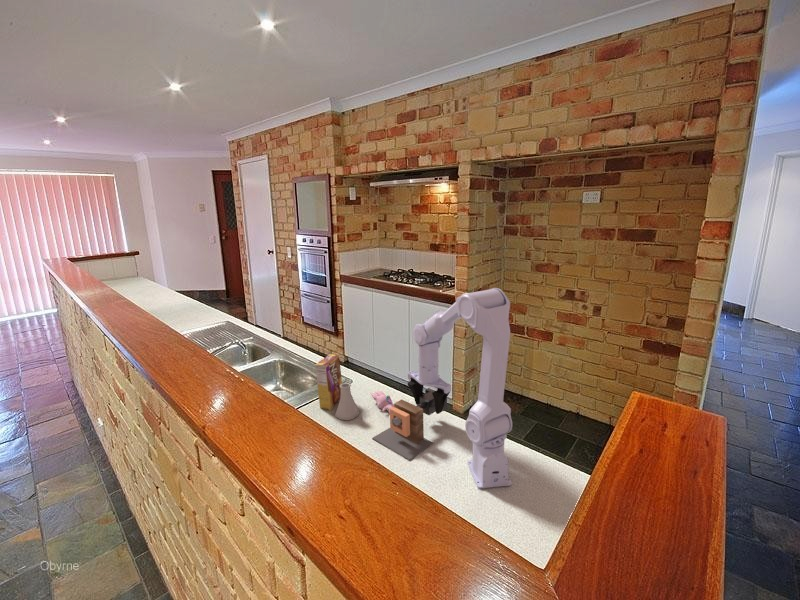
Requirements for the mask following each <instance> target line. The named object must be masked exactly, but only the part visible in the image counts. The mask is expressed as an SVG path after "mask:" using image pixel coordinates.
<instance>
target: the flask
mask: <svg viewBox="0 0 800 600" xmlns="http://www.w3.org/2000/svg"><path fill="white" fill-rule="evenodd" d="M351 386H352V384H351V383H349V382H344V383H343V382H342V384H341V385H340V388H341V398H340V401H339V403H338V406H337V409H336V412H335V415H334V416H335V418H337V419H339V420H342V421H351V420H353V419H355V418H357V417H358V416H359V414H360V410H359V408H358V406H357V403H356V402H355V399H354V398H353V395H352V391H351Z"/></svg>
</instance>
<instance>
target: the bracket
mask: <svg viewBox="0 0 800 600" xmlns="http://www.w3.org/2000/svg"><path fill="white" fill-rule="evenodd" d="M393 404H394V407H395V408H397V409H399V410H401V411H404V412H406V413H408V414H410V435H409V436H407V437H405V436H403V435H401V434H399V433H398V432H396V431H395V433H397V434H399V435H401V436H402V437H404V438H406V439H408V440H410V441H412V442H413V443H415V444H417V443H419V442H420V441H422V440H423V439H424V438H425V437H424V435H425V434H424V431H425V430H424V428H425V427H424V413H423V409H422V408H420V407H417V405H415V404H413V403H410V402H409V401H407V400H404V399H400V400H398V401H396V402H394V403H393ZM399 425H401V426H402V423H401V424H399Z"/></svg>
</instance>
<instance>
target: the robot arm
mask: <svg viewBox="0 0 800 600" xmlns="http://www.w3.org/2000/svg"><path fill="white" fill-rule="evenodd" d="M455 299H456V300H455V302H454V303H452V305H451V306H450V307H449V308H448V309H446V310H445V311H444V310H435V311H434V312H433V315H432V316H431V317H430V318H426V319H425V322H424V323H421V324H420V323H416V324H415V326H414V327H413V330H412V331H413V332H412V335H413V336H412V337H413V339H414V341H415V343H416V344H417V371H415V370H410V371H408V372H407V379H408V380H410V381H408V382H407V386H408V388H409V389H410V391H411V393H412V396H413V399H414V402H415V404H416V405H415V406H417V405H419V404H420V397H421V396H423V395H424V387H431V388H434V389H436V390H435V392H433V393H432V395H433V397H434V400H435V411H436V412H435V414H437V415H439V414H441V413H442V412H443V411H442V410H443V406H444V403H445V400H446V398H447V399H448V396H449V394H450V393H451V392H452V384H450V383H448V382H446V381H445V380H443V379H442V378H440V375H441V374H440V373H439V370H440V369H439V348H440V347H441V341H442V340H443V337H444V335H446V334H448V333H449V332H450V331H452V330H453V329H454V325H455V323H456V322H457V321H459V320H460V319H462V320H464V322H465V323H466V324H467V325H468V326H469V327H470V328H471V329H472V330H473V331H474V333H476V334H478V335H481V336H482V339H483V340H482V351H481V352H482V354H481V361H480V362H481V363H480V375H479V385H478V399H477V400H476V402H475V403H474V404H473V405H472V407H471V408H470V409H469V411H468V412H469V413H468V417H467V419H466V420H465V431H466V435H467V437H468V438H469V439H470V441H471V442H472V459H469V460H467V465H468V468H469V470H470V472H471V475H472V477H473V480H474V482H475V485H476V487H477V489H486V488H488V489H489V488H497V487H499V488H500V487H507V486H512V485H513V483H512V480H511V478H510V476H509V467H510V466H509V460H508V457H507V454H506V452H505V440H506V439H507V435H508V433H510V432H511V431H512V429H513V420H512V416H511V413H512V408H511V407H510V406H509V405H508V404H507V403H506V402H505V401H504V398H505V397H504V396H505V395H504V394H505V385H506V377H507V369H508V368H507V367H508V360H509V359H508V358H509V351H510V350H509V349H510V342H511V327H510V321H509V317H510V310H511V301H510V299H509V298H508V297H507V295H506V293H505V291H504V290H502V289H500V288H499V287H498V288H497V287H492V288H490V289H485V290H479V291H475V292H473V291H472V292H464V293H462V294H461V295H460V296H457V297H456V298H455Z"/></svg>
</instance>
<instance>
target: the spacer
mask: <svg viewBox="0 0 800 600" xmlns="http://www.w3.org/2000/svg"><path fill="white" fill-rule="evenodd" d="M396 417H398V418H400V419H402V426H401V425H397V426H394V425H393V424H392V419H394V418H396ZM389 426H390V427H389V428H390V429H392V430H394V431H396V432H398V433H399V434H401V435H403V436H405V437H407V436H409V435H410V414H408V413H406V412H404V411H401V410H399V409H397V408H395V407H392V408H390V414H389Z"/></svg>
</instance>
